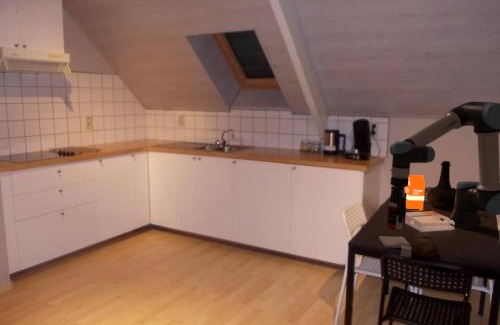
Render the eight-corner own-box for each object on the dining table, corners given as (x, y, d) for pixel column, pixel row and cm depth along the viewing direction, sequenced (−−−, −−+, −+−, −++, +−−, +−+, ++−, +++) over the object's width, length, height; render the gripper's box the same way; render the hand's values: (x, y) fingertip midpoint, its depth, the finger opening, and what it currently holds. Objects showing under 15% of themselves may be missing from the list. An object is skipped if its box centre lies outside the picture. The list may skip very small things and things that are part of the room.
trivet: (402, 239, 200) (402, 236, 200) (410, 248, 189) (411, 245, 189) (378, 238, 200) (379, 236, 200) (385, 247, 190) (386, 244, 189)
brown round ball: (423, 242, 197) (424, 232, 196) (430, 246, 192) (431, 235, 191) (413, 243, 196) (414, 232, 195) (420, 247, 191) (421, 236, 190)
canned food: (404, 226, 196) (406, 202, 194) (404, 231, 189) (406, 207, 187) (386, 224, 199) (388, 201, 197) (386, 229, 191) (388, 205, 189)
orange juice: (423, 210, 250) (426, 176, 246) (407, 210, 250) (410, 176, 246) (418, 206, 258) (421, 174, 254) (403, 206, 258) (406, 173, 254)
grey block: (410, 255, 181) (411, 246, 181) (410, 258, 178) (411, 249, 177) (400, 253, 183) (401, 244, 182) (400, 257, 179) (401, 248, 178)
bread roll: (410, 256, 190) (404, 240, 188) (431, 246, 190) (425, 230, 188) (421, 265, 180) (414, 248, 179) (443, 255, 180) (437, 238, 179)
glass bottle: (464, 212, 249) (469, 164, 244) (433, 211, 249) (438, 163, 244) (450, 203, 266) (455, 159, 261) (421, 203, 266) (425, 158, 261)
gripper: (384, 172, 200) (380, 219, 204) (399, 181, 179) (394, 233, 183) (400, 172, 200) (396, 219, 204) (417, 182, 179) (412, 234, 183)
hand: (395, 226), depth 193 cm, fingers closed on canned food, 8 cm apart
